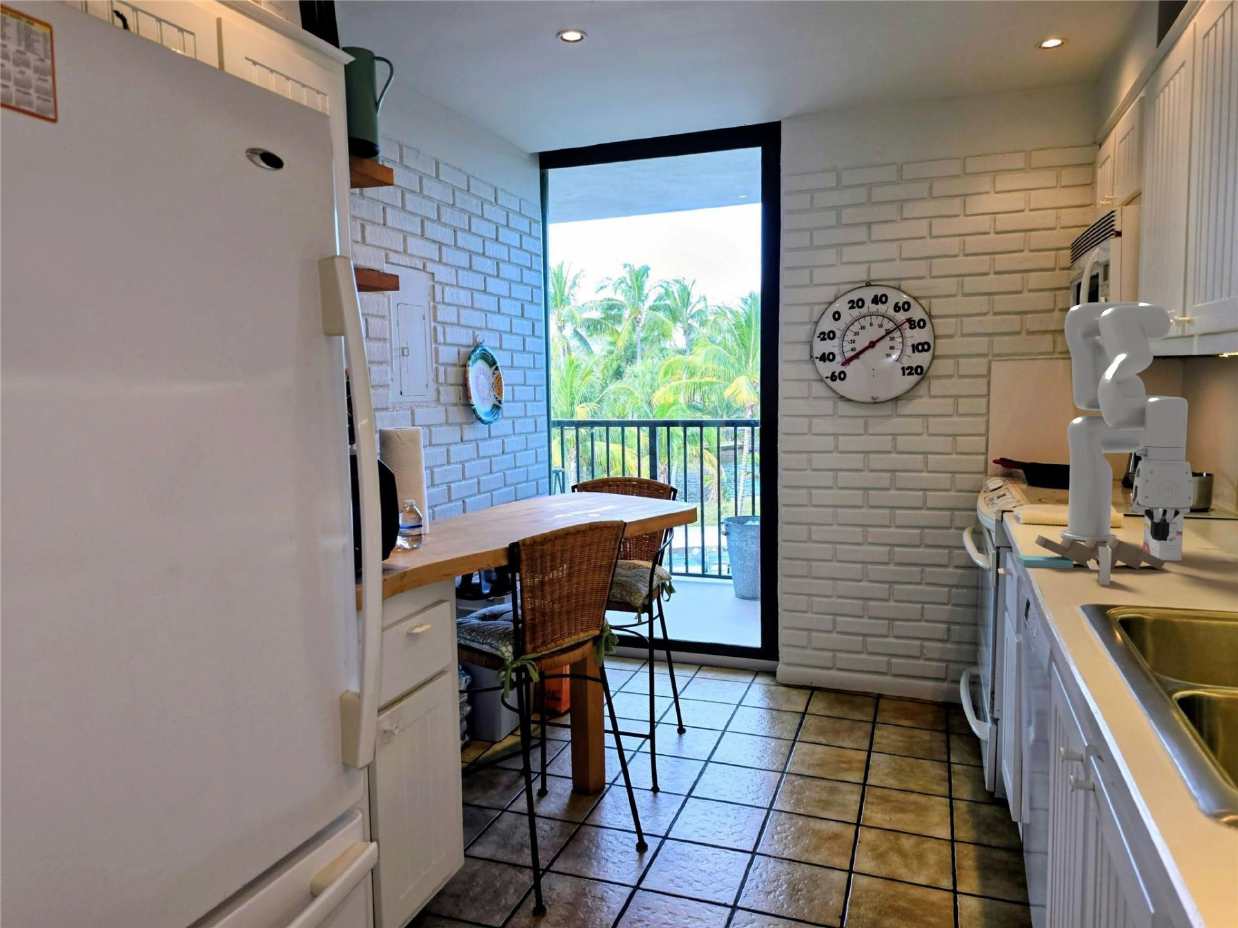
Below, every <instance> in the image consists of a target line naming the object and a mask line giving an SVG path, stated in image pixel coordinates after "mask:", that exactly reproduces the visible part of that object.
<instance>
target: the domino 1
mask: <svg viewBox="0 0 1238 928" xmlns="http://www.w3.org/2000/svg"><path fill="white" fill-rule="evenodd" d="M1016 563H1017V564H1019V565H1021V566H1022V567H1023V568H1027V567H1028V568H1061V569H1065V568H1066V569H1073V568H1074V561H1072V560H1070V559H1068V558H1066V557H1063V556H1061V555H1022V554H1021V555H1020V554H1017V555H1016Z"/></svg>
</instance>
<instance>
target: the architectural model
mask: <svg viewBox="0 0 1238 928" xmlns="http://www.w3.org/2000/svg"><path fill="white" fill-rule="evenodd" d="M1111 552H1112V550H1111V549H1110V548H1109V546H1108V545H1107V547H1099V559H1098V556H1096V561H1095V560H1090V561H1087V564H1088V566H1087V567H1088V568H1089V569H1090V570H1096V571H1097V577H1098V579H1097V580H1098V585H1103V586H1110V585H1111V573H1112V572H1111V571H1112V570H1111V569H1112V568H1111Z"/></svg>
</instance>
